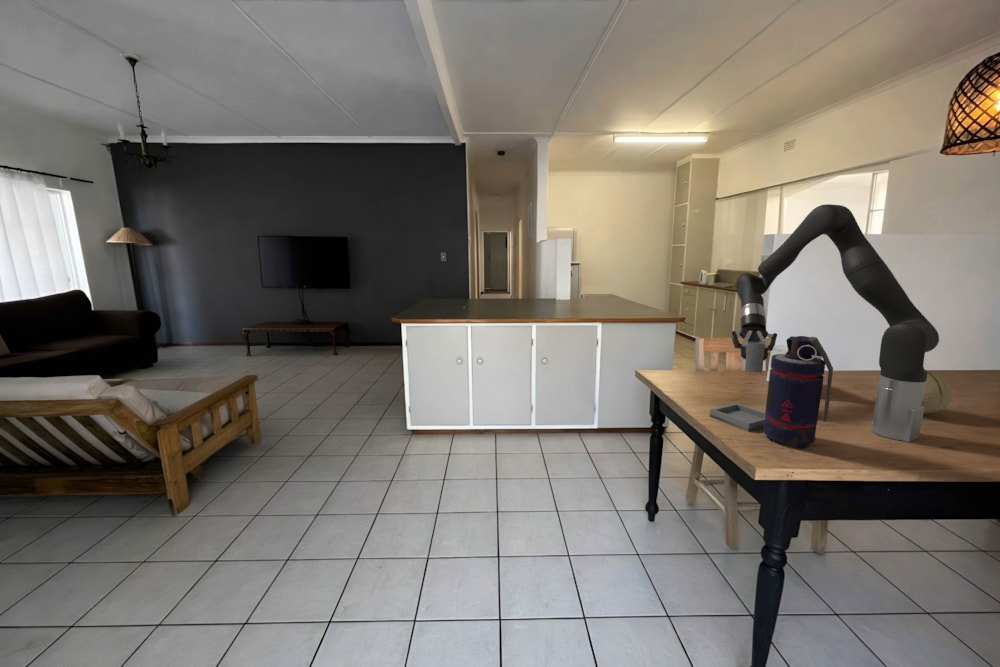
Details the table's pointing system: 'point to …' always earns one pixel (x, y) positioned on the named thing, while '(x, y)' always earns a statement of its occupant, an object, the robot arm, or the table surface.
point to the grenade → (796, 392)
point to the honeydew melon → (936, 393)
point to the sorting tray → (739, 416)
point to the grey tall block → (754, 356)
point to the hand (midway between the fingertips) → (754, 358)
